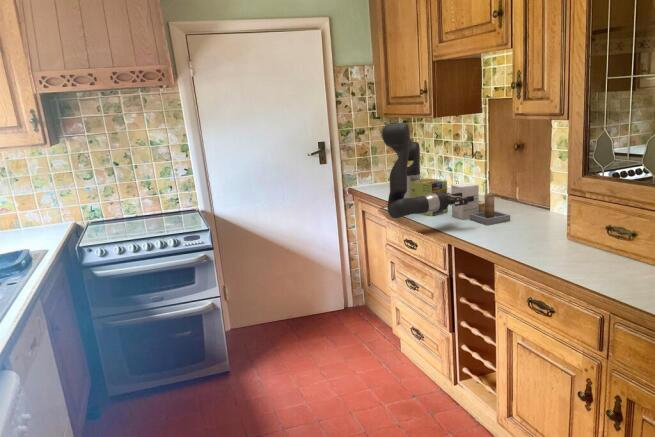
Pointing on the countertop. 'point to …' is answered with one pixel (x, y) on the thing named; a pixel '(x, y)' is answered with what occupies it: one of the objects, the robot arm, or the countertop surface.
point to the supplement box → (466, 191)
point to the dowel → (489, 205)
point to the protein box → (428, 190)
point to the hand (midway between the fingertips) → (467, 196)
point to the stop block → (481, 206)
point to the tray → (497, 218)
